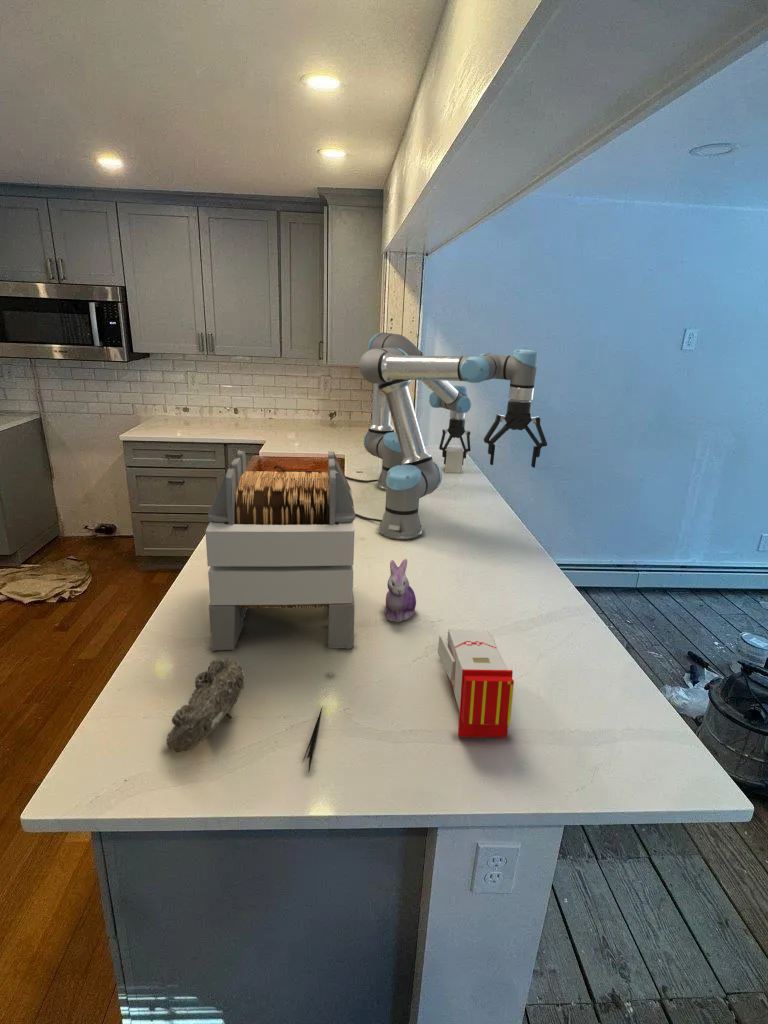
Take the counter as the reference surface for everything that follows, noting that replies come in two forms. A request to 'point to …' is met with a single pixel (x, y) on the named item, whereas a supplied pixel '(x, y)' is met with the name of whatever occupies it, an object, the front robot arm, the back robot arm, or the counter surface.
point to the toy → (478, 682)
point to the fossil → (206, 705)
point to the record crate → (281, 548)
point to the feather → (313, 740)
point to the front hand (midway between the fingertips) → (512, 465)
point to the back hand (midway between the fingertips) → (453, 464)
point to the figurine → (399, 594)
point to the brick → (454, 459)
